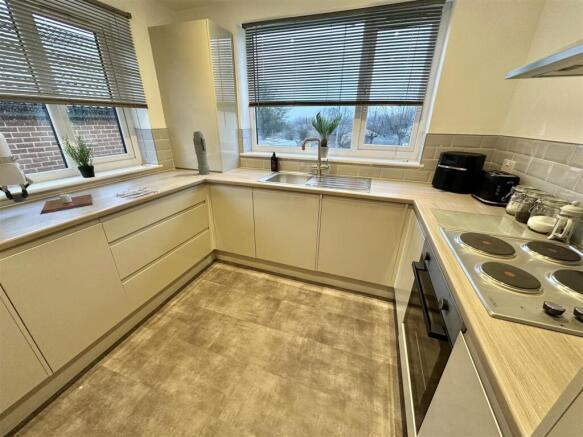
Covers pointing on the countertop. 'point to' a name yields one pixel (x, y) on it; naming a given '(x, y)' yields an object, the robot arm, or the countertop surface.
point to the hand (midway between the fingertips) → (18, 198)
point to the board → (67, 204)
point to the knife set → (136, 191)
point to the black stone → (18, 197)
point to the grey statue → (201, 153)
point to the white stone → (65, 198)
